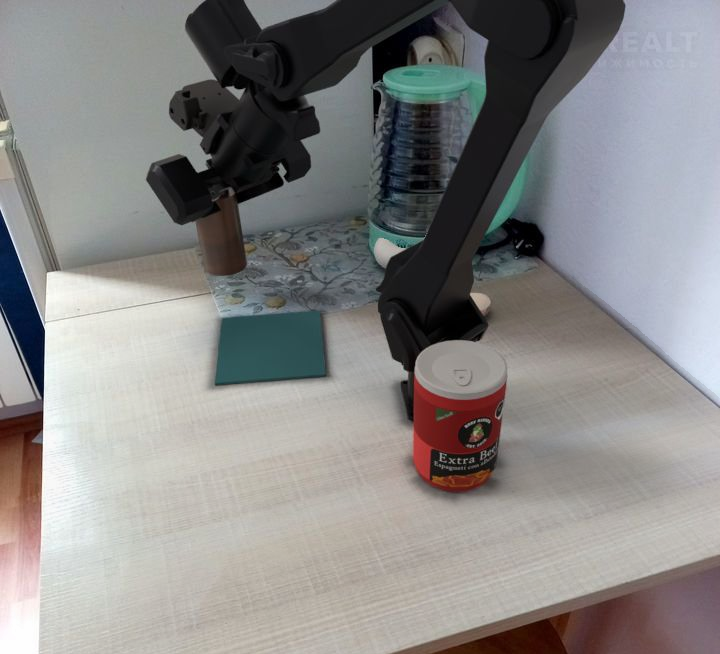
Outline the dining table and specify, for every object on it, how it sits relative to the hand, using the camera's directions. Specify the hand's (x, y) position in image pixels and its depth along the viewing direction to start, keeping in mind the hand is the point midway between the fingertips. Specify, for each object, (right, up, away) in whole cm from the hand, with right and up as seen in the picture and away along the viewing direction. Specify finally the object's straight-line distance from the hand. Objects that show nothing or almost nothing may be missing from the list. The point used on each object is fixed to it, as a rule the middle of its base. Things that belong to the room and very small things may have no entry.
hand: (209, 210), depth 83 cm
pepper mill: (+1, -6, +4) cm, 7 cm away
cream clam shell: (+31, -12, +3) cm, 33 cm away
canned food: (+26, -30, -18) cm, 44 cm away
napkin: (+7, -16, -1) cm, 18 cm away
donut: (+25, -2, +14) cm, 29 cm away
